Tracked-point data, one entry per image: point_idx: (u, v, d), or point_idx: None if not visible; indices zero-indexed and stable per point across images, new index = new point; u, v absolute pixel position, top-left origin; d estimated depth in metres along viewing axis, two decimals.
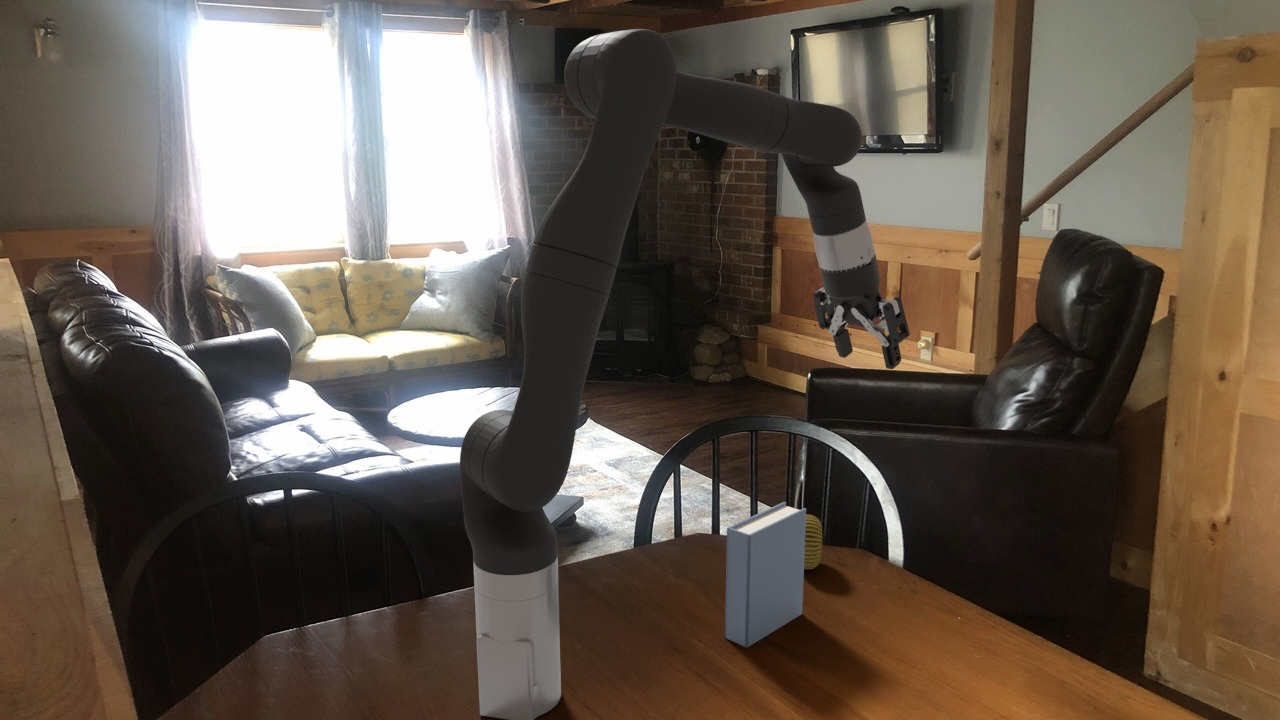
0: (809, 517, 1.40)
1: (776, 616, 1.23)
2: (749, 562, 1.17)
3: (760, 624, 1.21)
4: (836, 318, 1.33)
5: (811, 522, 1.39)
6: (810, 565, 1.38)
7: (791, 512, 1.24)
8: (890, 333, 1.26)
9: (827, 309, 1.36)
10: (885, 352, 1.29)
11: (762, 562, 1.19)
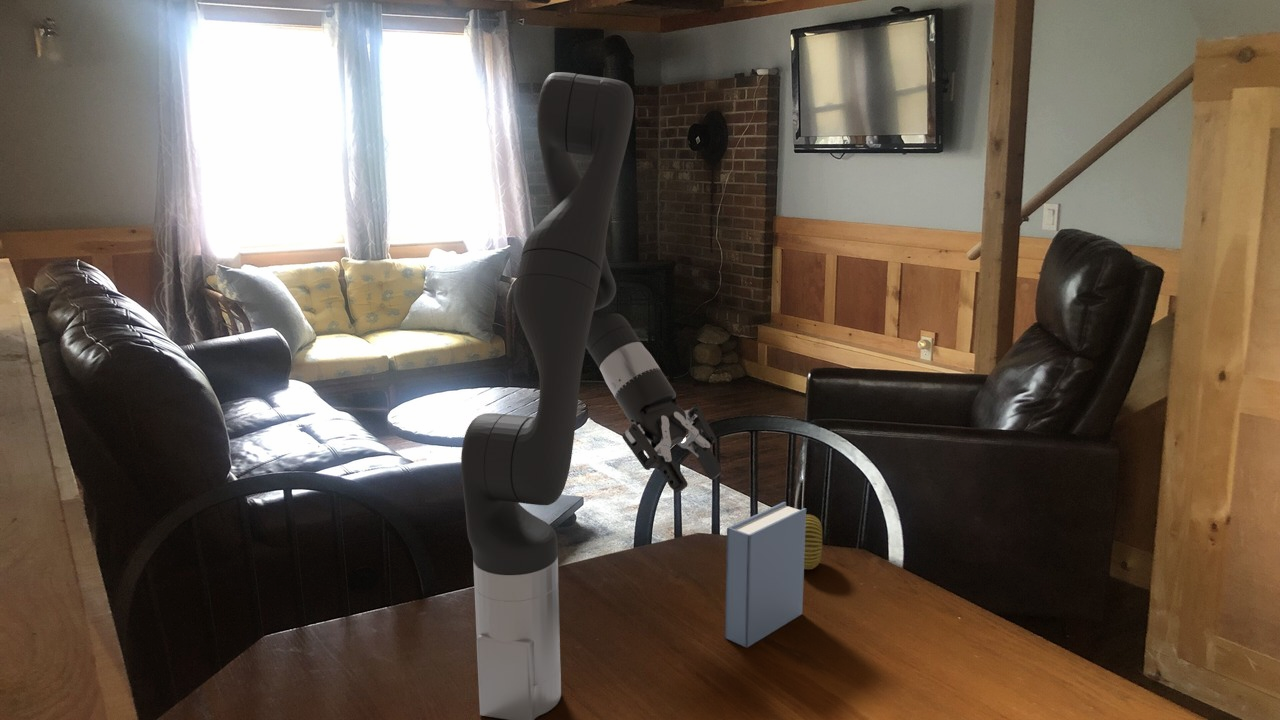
0: (809, 517, 1.40)
1: (776, 616, 1.23)
2: (749, 562, 1.17)
3: (760, 624, 1.21)
4: (666, 434, 1.28)
5: (811, 522, 1.39)
6: (810, 565, 1.38)
7: (791, 512, 1.24)
8: (707, 431, 1.34)
9: None
10: (710, 455, 1.31)
11: (762, 562, 1.19)
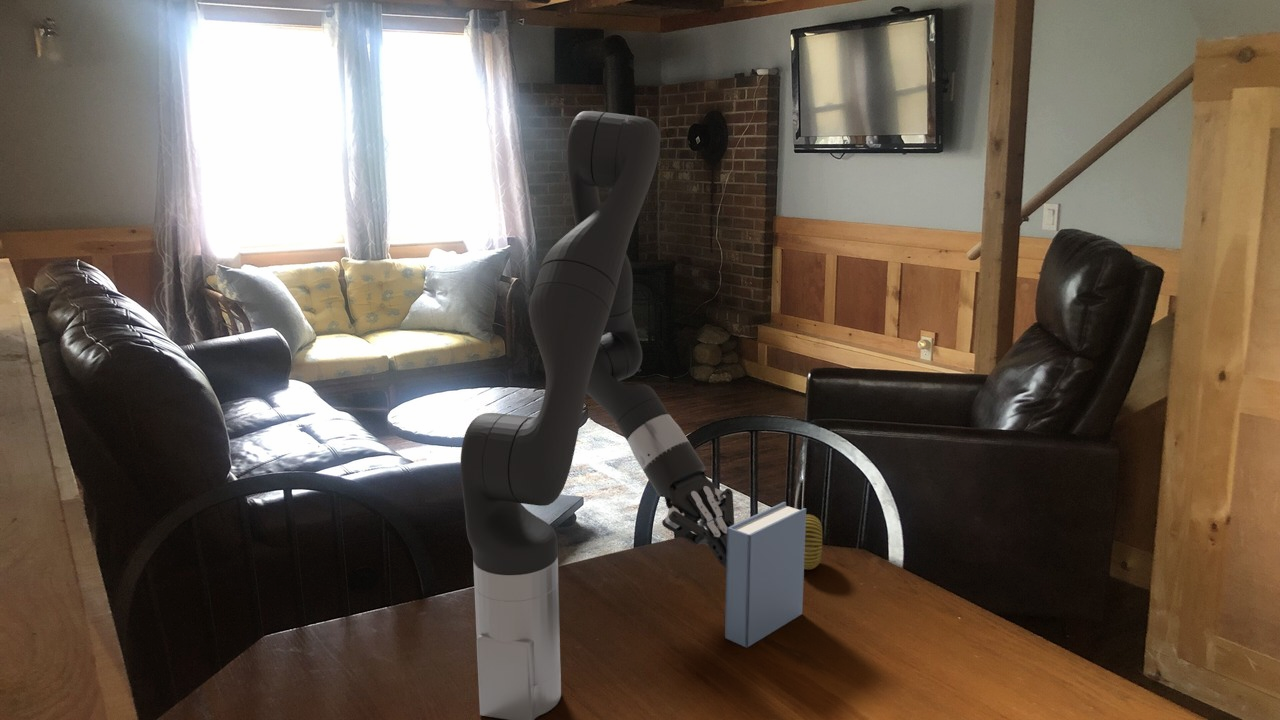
0: (809, 517, 1.40)
1: (776, 616, 1.23)
2: (749, 562, 1.17)
3: (760, 624, 1.21)
4: (703, 510, 1.27)
5: (811, 522, 1.39)
6: (810, 565, 1.38)
7: (791, 512, 1.24)
8: (728, 513, 1.30)
9: None
10: None
11: (762, 562, 1.19)
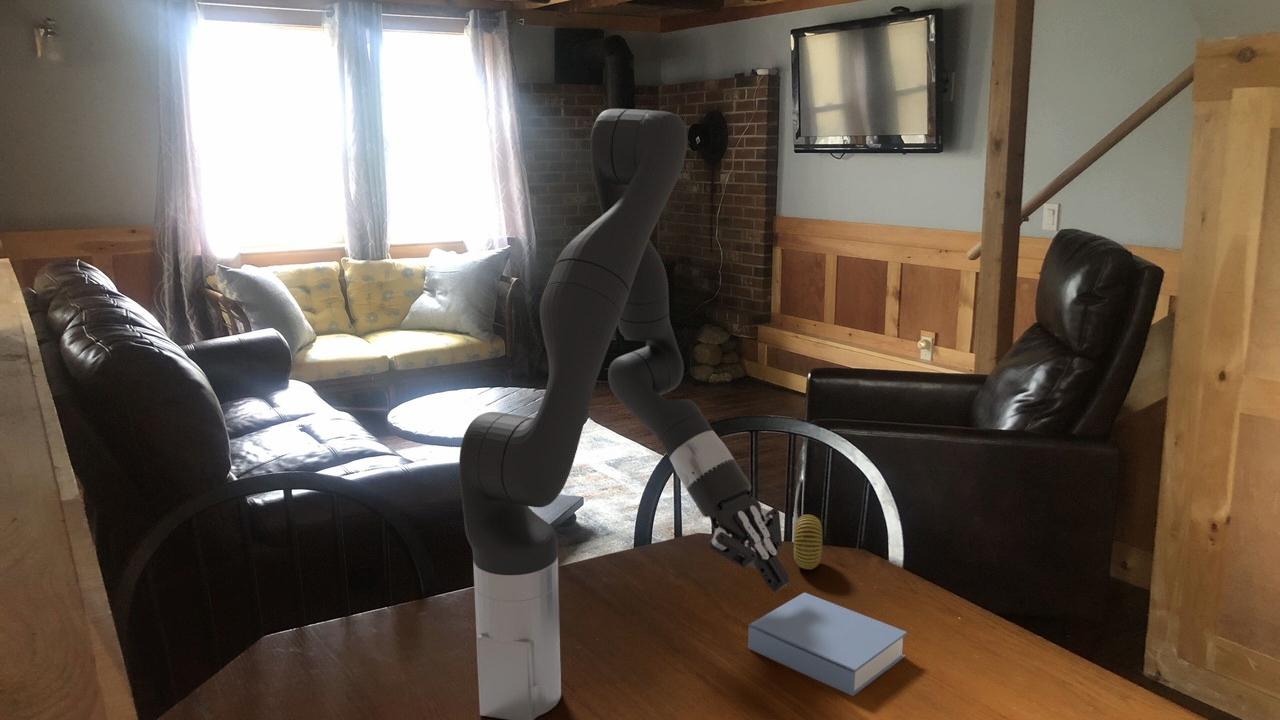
0: (809, 517, 1.40)
1: None
2: None
3: None
4: (751, 531, 1.22)
5: (811, 522, 1.39)
6: (810, 565, 1.38)
7: (896, 652, 1.16)
8: (775, 534, 1.25)
9: None
10: (777, 563, 1.22)
11: None
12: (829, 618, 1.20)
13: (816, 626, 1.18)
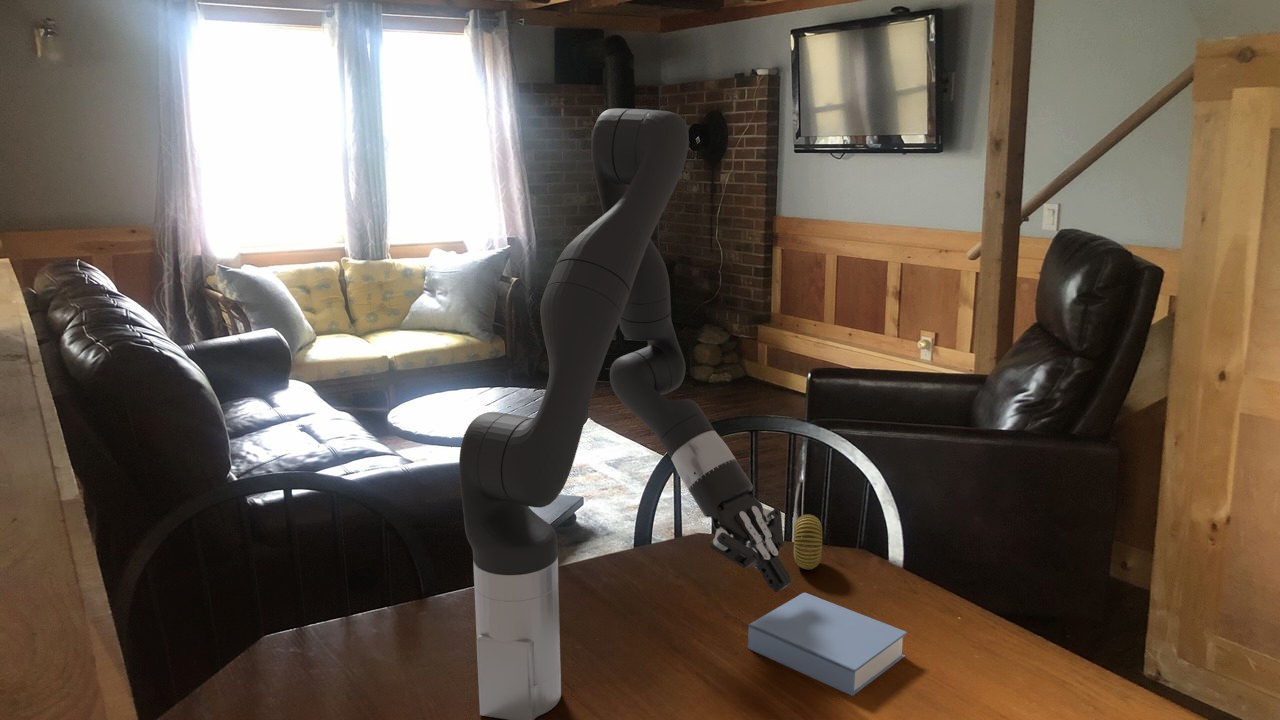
0: (809, 517, 1.40)
1: None
2: None
3: None
4: (752, 531, 1.22)
5: (811, 522, 1.39)
6: (810, 565, 1.38)
7: (896, 652, 1.16)
8: (777, 534, 1.25)
9: None
10: (779, 563, 1.22)
11: None
12: (829, 618, 1.20)
13: (816, 626, 1.18)
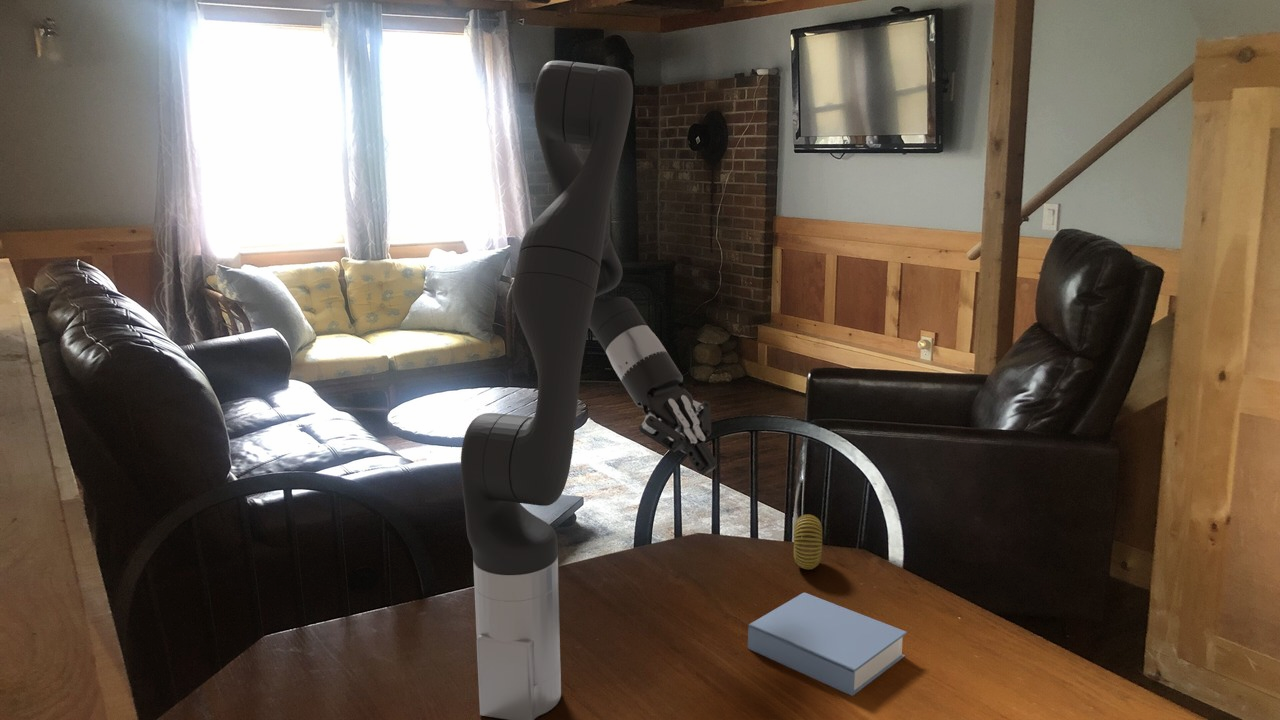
0: (809, 517, 1.40)
1: None
2: None
3: None
4: (680, 417, 1.27)
5: (811, 522, 1.39)
6: (810, 565, 1.38)
7: (896, 652, 1.16)
8: (705, 423, 1.30)
9: None
10: (705, 447, 1.27)
11: None
12: (828, 618, 1.20)
13: (816, 626, 1.18)
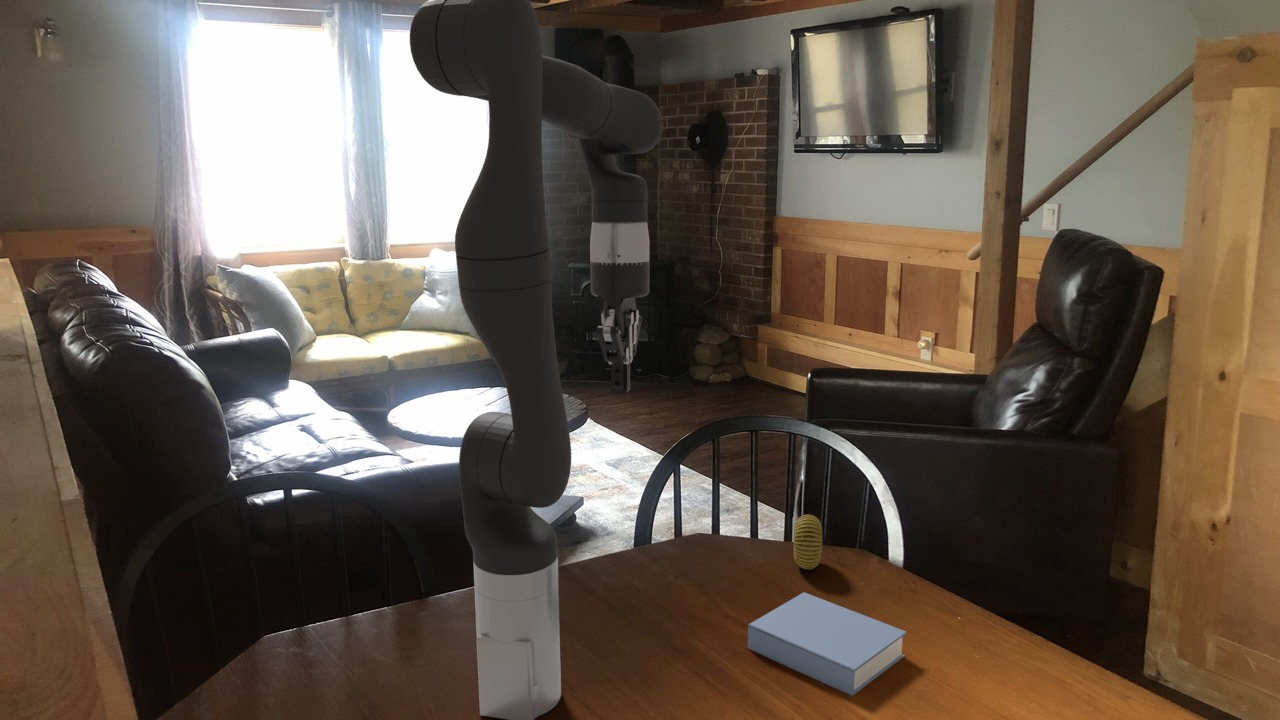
0: (809, 517, 1.40)
1: None
2: None
3: None
4: (630, 334, 1.22)
5: (811, 522, 1.39)
6: (810, 565, 1.38)
7: (895, 652, 1.16)
8: (635, 342, 1.26)
9: None
10: (629, 370, 1.24)
11: None
12: (828, 618, 1.20)
13: (816, 626, 1.18)
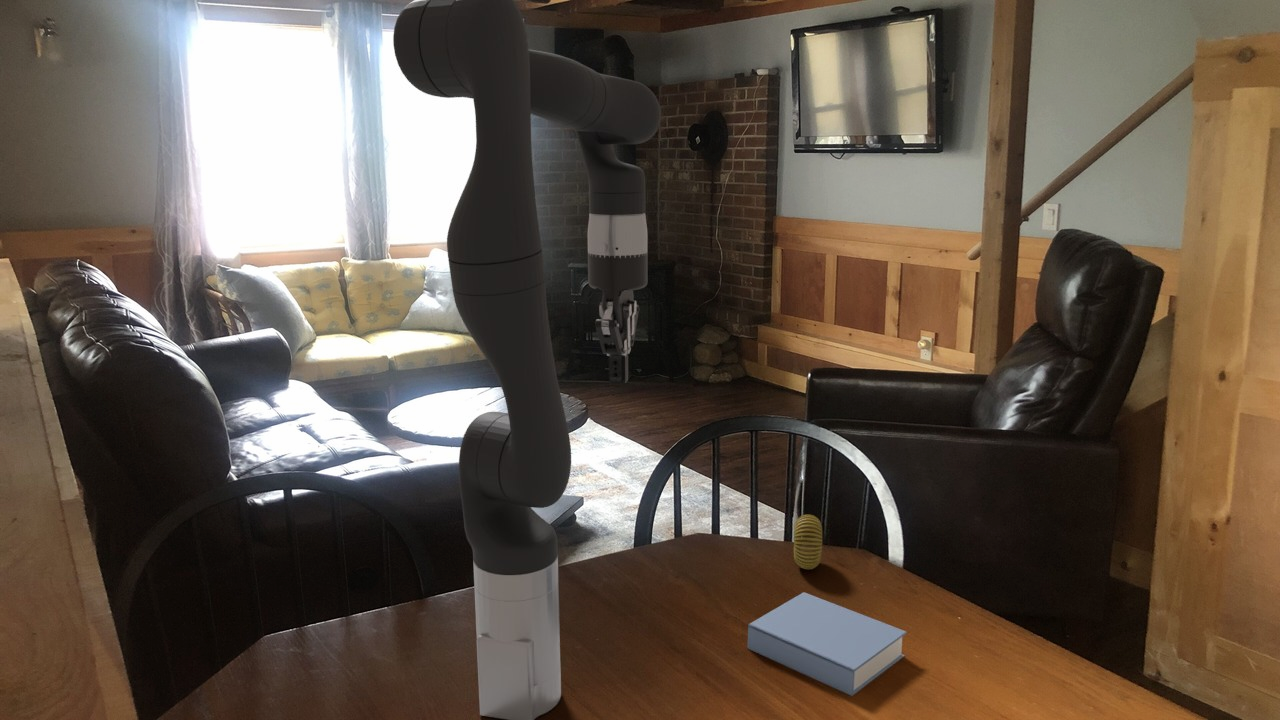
0: (809, 517, 1.40)
1: None
2: None
3: None
4: (628, 326, 1.21)
5: (811, 522, 1.39)
6: (810, 565, 1.38)
7: (895, 652, 1.16)
8: None
9: None
10: (627, 361, 1.24)
11: None
12: (828, 618, 1.20)
13: (815, 626, 1.18)
